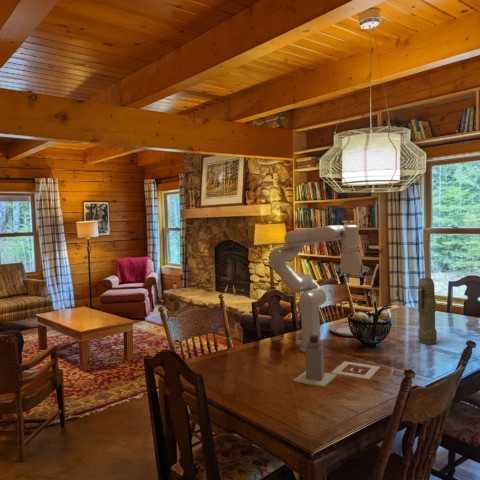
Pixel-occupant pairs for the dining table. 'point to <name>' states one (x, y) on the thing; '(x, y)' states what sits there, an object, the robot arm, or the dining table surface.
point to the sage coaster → (326, 380)
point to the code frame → (366, 376)
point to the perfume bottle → (314, 359)
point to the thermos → (427, 312)
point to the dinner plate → (341, 329)
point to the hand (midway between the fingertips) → (352, 284)
